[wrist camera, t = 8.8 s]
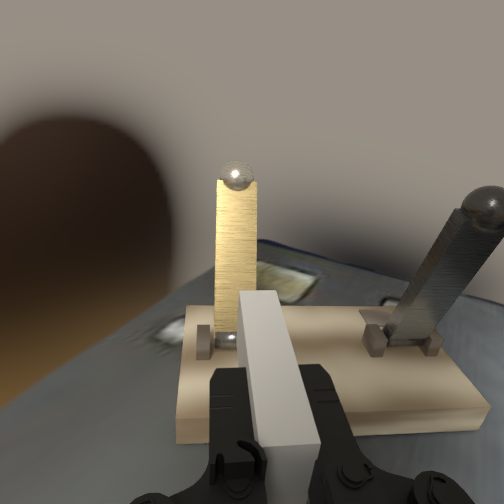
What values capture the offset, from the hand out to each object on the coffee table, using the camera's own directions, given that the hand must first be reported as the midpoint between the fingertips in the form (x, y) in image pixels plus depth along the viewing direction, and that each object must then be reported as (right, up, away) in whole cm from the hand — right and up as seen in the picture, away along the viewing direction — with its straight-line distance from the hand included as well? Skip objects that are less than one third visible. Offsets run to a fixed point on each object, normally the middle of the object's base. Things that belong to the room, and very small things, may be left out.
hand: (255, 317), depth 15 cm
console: (+5, -8, +15) cm, 18 cm away
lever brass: (-2, -4, +13) cm, 13 cm away
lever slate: (+12, -4, +14) cm, 20 cm away
